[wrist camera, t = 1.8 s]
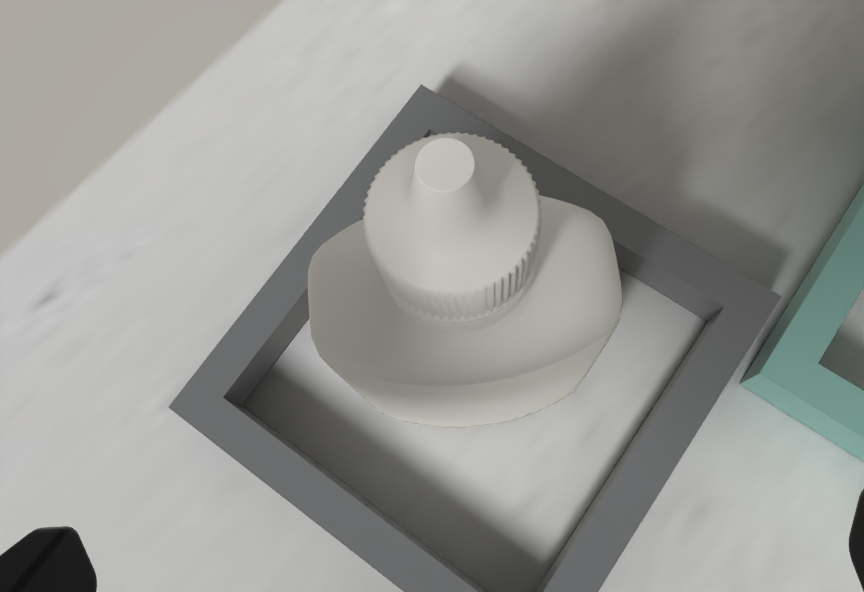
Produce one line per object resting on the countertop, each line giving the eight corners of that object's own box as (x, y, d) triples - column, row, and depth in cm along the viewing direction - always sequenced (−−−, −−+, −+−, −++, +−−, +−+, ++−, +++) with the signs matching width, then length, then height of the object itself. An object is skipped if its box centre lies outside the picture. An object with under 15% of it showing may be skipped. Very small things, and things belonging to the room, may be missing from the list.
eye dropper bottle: (542, 482, 19) (614, 435, 8) (345, 399, 20) (148, 245, 9) (600, 329, 20) (742, 82, 9) (410, 256, 21) (310, -51, 10)
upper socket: (760, 312, 20) (780, 296, 18) (531, 679, 18) (534, 693, 16) (425, 111, 22) (421, 84, 21) (191, 414, 20) (168, 407, 19)
